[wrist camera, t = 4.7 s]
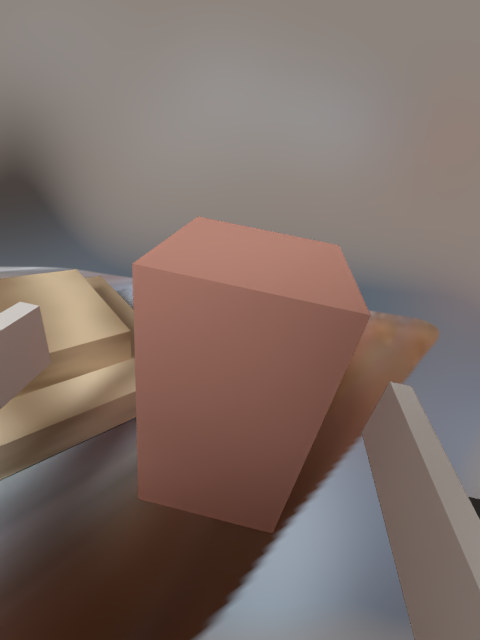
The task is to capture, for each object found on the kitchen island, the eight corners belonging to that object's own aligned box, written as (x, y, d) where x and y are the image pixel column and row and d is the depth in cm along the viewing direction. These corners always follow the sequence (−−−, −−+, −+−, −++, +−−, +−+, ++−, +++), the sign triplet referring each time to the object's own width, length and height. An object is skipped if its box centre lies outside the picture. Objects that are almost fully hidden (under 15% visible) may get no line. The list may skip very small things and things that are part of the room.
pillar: (278, 423, 18) (339, 245, 12) (272, 533, 13) (370, 315, 7) (182, 400, 18) (198, 216, 13) (138, 498, 13) (132, 263, 8)
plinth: (102, 296, 27) (99, 253, 25) (188, 392, 19) (193, 341, 17) (-134, 340, 18) (-169, 280, 16) (-166, 556, 10) (-245, 491, 8)
